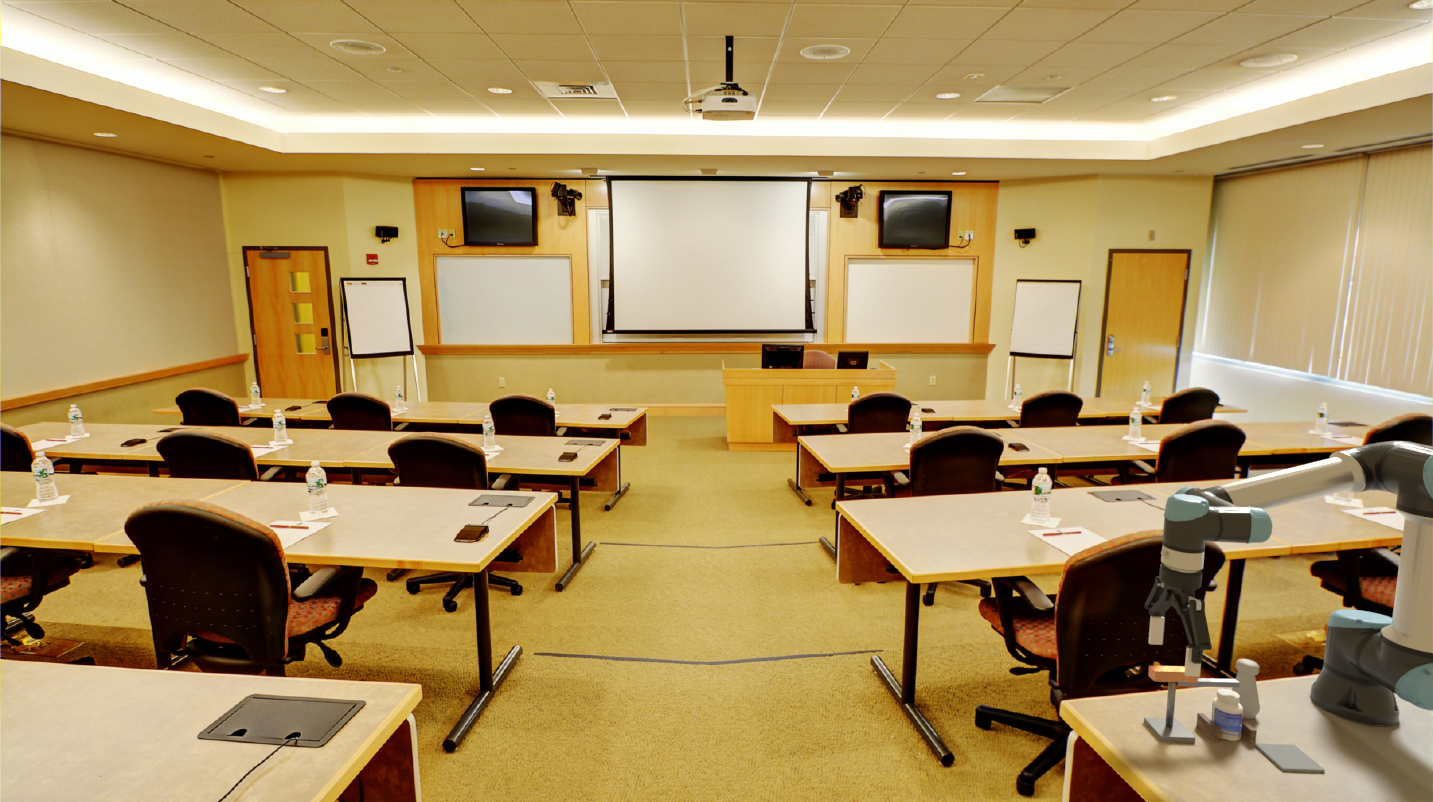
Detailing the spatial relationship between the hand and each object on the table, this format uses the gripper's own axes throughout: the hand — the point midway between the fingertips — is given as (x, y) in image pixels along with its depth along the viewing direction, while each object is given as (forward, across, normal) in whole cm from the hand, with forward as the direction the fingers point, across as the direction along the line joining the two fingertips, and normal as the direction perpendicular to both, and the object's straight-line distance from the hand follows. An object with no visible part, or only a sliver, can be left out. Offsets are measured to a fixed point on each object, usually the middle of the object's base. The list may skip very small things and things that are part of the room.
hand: (1172, 658), depth 148 cm
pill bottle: (+18, 0, +12) cm, 22 cm away
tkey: (+16, 0, +5) cm, 17 cm away
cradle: (+17, 0, +12) cm, 21 cm away
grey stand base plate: (+17, 0, 0) cm, 17 cm away
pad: (+17, +8, +20) cm, 28 cm away
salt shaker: (+17, -8, +22) cm, 29 cm away
